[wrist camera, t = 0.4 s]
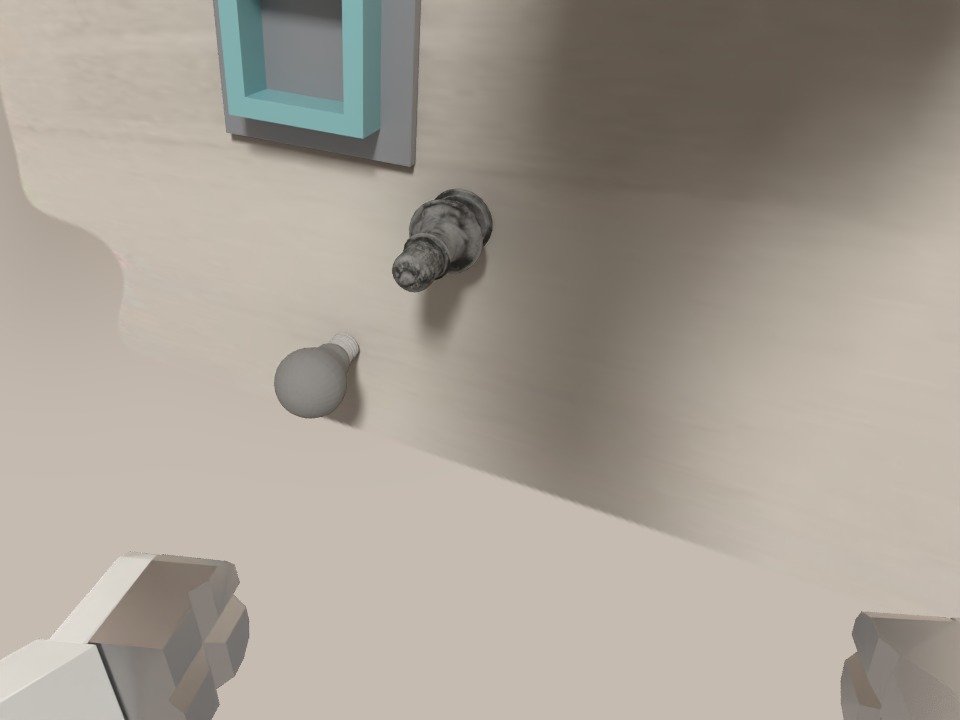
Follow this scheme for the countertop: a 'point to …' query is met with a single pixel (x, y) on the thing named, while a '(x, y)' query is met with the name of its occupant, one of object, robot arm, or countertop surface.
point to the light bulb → (315, 377)
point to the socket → (322, 74)
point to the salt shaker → (443, 239)
